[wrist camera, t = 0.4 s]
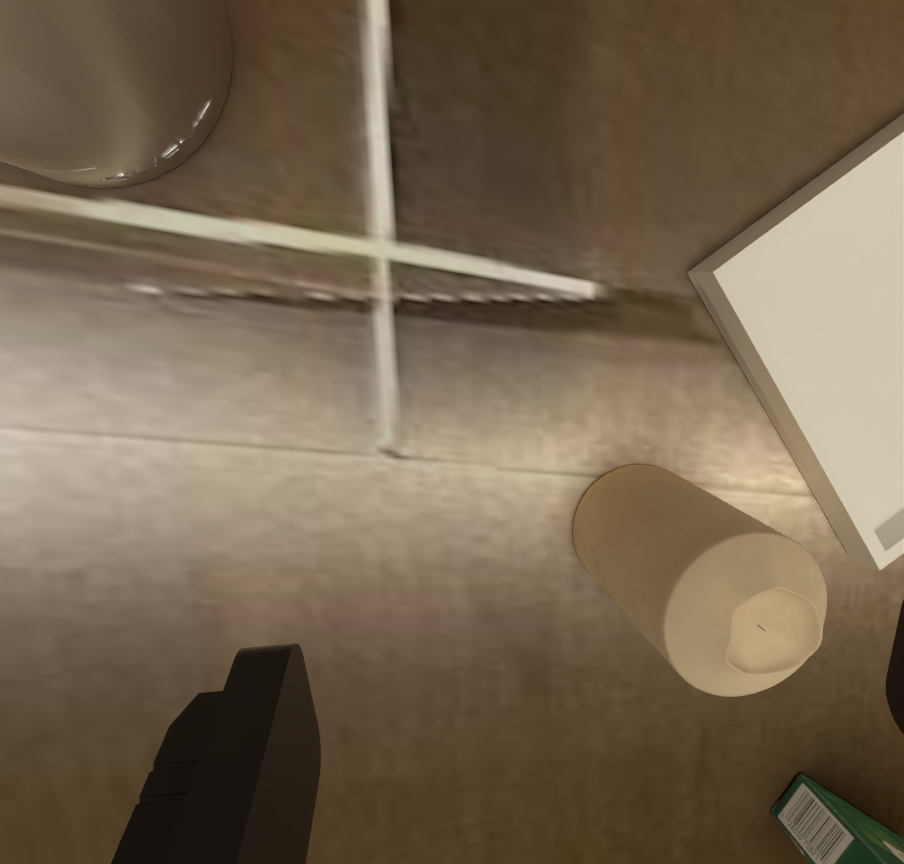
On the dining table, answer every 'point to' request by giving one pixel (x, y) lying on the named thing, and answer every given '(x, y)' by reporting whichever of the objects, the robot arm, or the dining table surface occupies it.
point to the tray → (829, 335)
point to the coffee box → (833, 828)
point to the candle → (701, 579)
